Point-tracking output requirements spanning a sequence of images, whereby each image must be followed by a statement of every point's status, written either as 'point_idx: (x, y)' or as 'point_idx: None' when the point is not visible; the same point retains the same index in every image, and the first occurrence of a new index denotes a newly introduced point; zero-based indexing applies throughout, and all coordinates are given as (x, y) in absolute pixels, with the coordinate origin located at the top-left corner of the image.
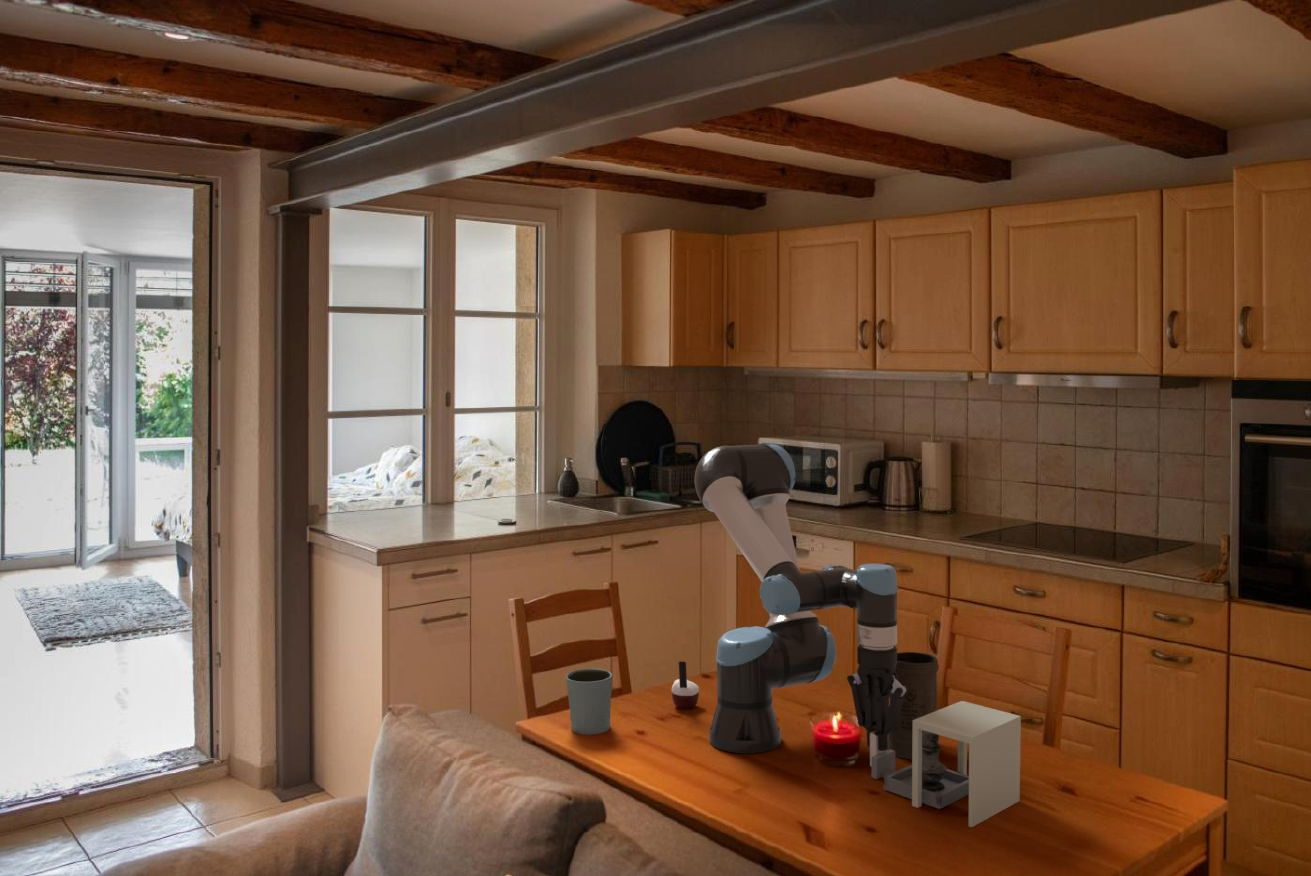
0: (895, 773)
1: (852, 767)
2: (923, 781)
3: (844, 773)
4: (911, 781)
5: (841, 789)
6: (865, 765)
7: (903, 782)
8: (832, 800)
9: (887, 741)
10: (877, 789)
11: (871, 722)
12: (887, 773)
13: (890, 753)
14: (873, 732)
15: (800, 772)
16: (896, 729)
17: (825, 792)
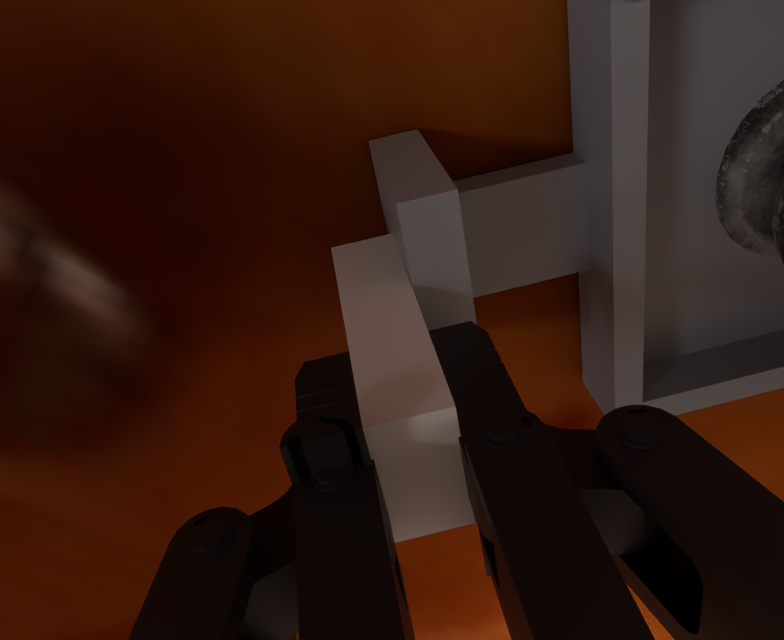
0: (629, 338)
1: (187, 338)
2: (777, 189)
3: (255, 428)
4: (681, 223)
5: (431, 534)
6: (193, 240)
7: (747, 377)
8: (499, 607)
9: (504, 366)
10: (548, 397)
11: (411, 626)
12: (482, 273)
13: (466, 258)
14: (403, 509)
15: (127, 598)
16: (675, 421)
17: (414, 598)
